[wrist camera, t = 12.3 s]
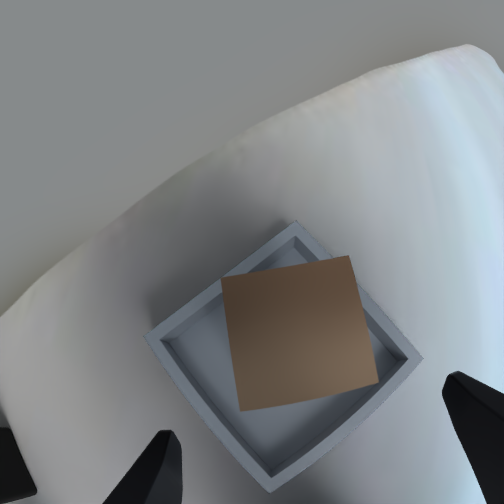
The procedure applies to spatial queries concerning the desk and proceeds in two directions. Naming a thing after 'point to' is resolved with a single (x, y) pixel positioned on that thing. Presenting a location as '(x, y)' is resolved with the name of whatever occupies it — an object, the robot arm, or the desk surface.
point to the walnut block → (297, 333)
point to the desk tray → (280, 417)
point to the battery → (13, 471)
